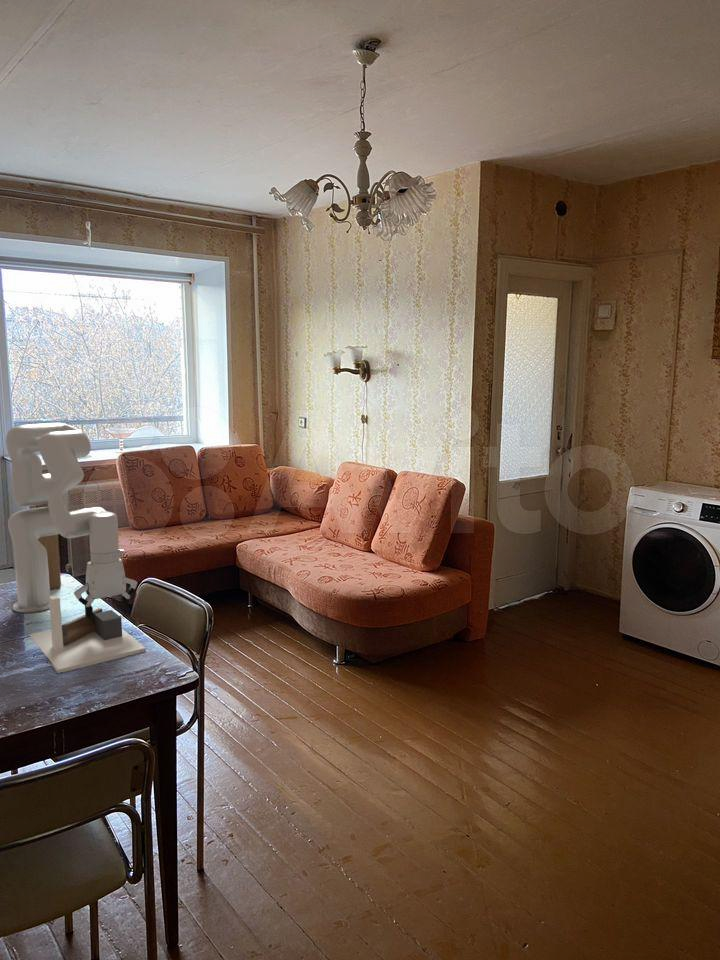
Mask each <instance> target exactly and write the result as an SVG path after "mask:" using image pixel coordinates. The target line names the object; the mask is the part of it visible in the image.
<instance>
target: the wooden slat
mask: <svg viewBox="0 0 720 960" xmlns="http://www.w3.org/2000/svg"><path fill="white" fill-rule="evenodd" d="M99 612H104V611H103V608H99V607H98V608H96V609H94V610H93V620H91V621H90V620H89V619H88V618H87V617H86V615H85V614H83V615H81V616H78V617H77V618H74V619H72V620H70V621H68V622H65V623H63V624H62V636H63V645H68V644H70V643H72V642H74V641H76V640H78V639H80V638H82V637H84V636H86V635H88V634H90V633H92V632H94V631H95V623H94V613H99Z"/></svg>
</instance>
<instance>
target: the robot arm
mask: <svg viewBox="0 0 720 960" xmlns="http://www.w3.org/2000/svg"><path fill="white" fill-rule="evenodd" d="M5 445H6V450H7V453H8V456H9V458H10V464H11V488H12V489H11V490H12V498H13V501H14V503H15V504H16V505H17V506H20V507H32V506H33V508H27V509H23V510H18V511H16V512H14V513H12V514H11V515H10V517H8V521H7V527H8V532H9V535H10V539H11V542H12V543H11V544H12V549H13V559H14V572H15V582H16V583H15V584H16V597H17V601H16V602H14V603H13V605H12V610H13V611H15V612H17V613H24V614H25V613H37V612H42V611H45V610H50V605H49V597H51V589H50V585H49V571H48V558H47V551H46V549H45V547H44V546H43V545H42V544H41V543H40V542H39V541H38V539H39V538H42V537H47V536H52V535H60V536H62V537H63V538H65V539H75V538H80V537H84V536H89V551H90V552H89V555H90V561H88V562H87V564H86V572H85V584H84V585H82V586H81V587H79V588H78V589H76V590H75V591H74V592H73V595H74V596H75V597H76V599H77V601H78V602H80V603H81V604H82V605H84V613H85V614H84V615H86V617H87V618H88V619H89V620H90V621H91V620H93V611H94V610H93V609H94V608H93V606H92V604H93V602H94V601H95V600H97V599H98V600H99V599H105V598H109V597H114V596H120V595H121V598H120V606H121V611H122V612H123V613H125V614H127V613H128V612H129V610H128V609H130V598H131V596H132V595H133V594H134V593H135V589H136V588H137V585H138V581H136V580H135V579H131V578H128V577H126V572H125V567H124V564H123V561H122V559H121V556H122V555H125V550H124V549H120V547H119V546H120V543H119V522H118V521H119V520H118V515H117V514H116V513H115V512H112V511H107V510H106V509H105V508H103V507H101V506H93V507H87V508H80V509H73V510H68V505H69V504H68V491H70V490H72V489H73V488H75V487H76V486H77V485H79V484H80V483H82V481H83V480H84V477H85V474H84V471H83V469H82V467H81V464H80V463H79V461H78V459H81V458H85V457H87V456H89V454H90V452H91V448H92V447H91V441H90V439H89V437H88V436H87V434H86V433H85V432H84V431H83V430H82V429H80V428H78V427H74V426H72V425H70V424H67V423H63V422H50V423H49V422H48V423H47V422H46V423H31V424H21V425H16V426H13V427H11V428H10V429H9V430H8V432H7V433H6V437H5ZM38 453H39V454H38ZM39 455H40V456H41V457H40V456H39ZM41 458H42V459H41ZM42 460H43V462H44V465H45V467H46V469H47V472H48V473H47V472H46V473H43V463H42ZM40 505H47V506H42V507H34V506H40ZM127 584H129V585H130V586H129V587H128V589H127ZM83 593H85V594H86V597H85V598H84V597H83V596H82V595H83Z"/></svg>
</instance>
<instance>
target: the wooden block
mask: <svg viewBox="0 0 720 960" xmlns="http://www.w3.org/2000/svg"><path fill="white" fill-rule="evenodd" d="M58 536H59V534H57V535H52V536H47V537H42V538H39V539H38V541H39V542H40V543H41V544H42V545H43V546H44V547H45V549H46V551H47V558H48V571H49V585H50V590H54V588H56V589H59V588H61V586H62V579H61V566H60V563H61V562H60V552H59V551H60V550H59V539H58V538H59V537H58Z"/></svg>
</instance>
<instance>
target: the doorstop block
mask: <svg viewBox="0 0 720 960" xmlns="http://www.w3.org/2000/svg"><path fill="white" fill-rule="evenodd" d="M94 623H95V632H96V633H97V634H98V635H99V636H100V637H101V638H102V639H103V640H108V639H113V638H117V637H121V636H122V629H123V623H122V617H121V616H119V614H117V613H116V612H114V610H112V609H110V610H106V611H105V610H104V611H103V612H99V613H94Z"/></svg>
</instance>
